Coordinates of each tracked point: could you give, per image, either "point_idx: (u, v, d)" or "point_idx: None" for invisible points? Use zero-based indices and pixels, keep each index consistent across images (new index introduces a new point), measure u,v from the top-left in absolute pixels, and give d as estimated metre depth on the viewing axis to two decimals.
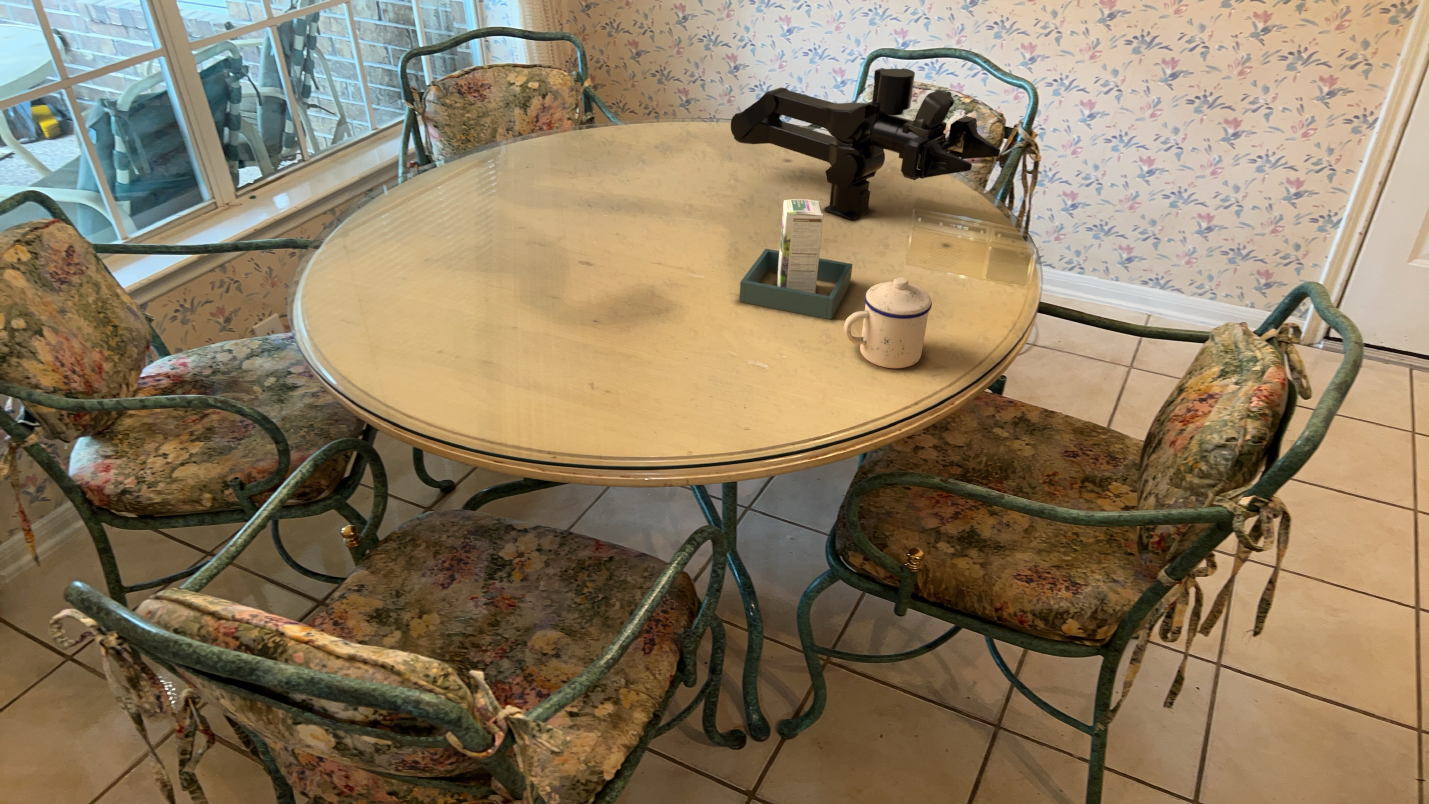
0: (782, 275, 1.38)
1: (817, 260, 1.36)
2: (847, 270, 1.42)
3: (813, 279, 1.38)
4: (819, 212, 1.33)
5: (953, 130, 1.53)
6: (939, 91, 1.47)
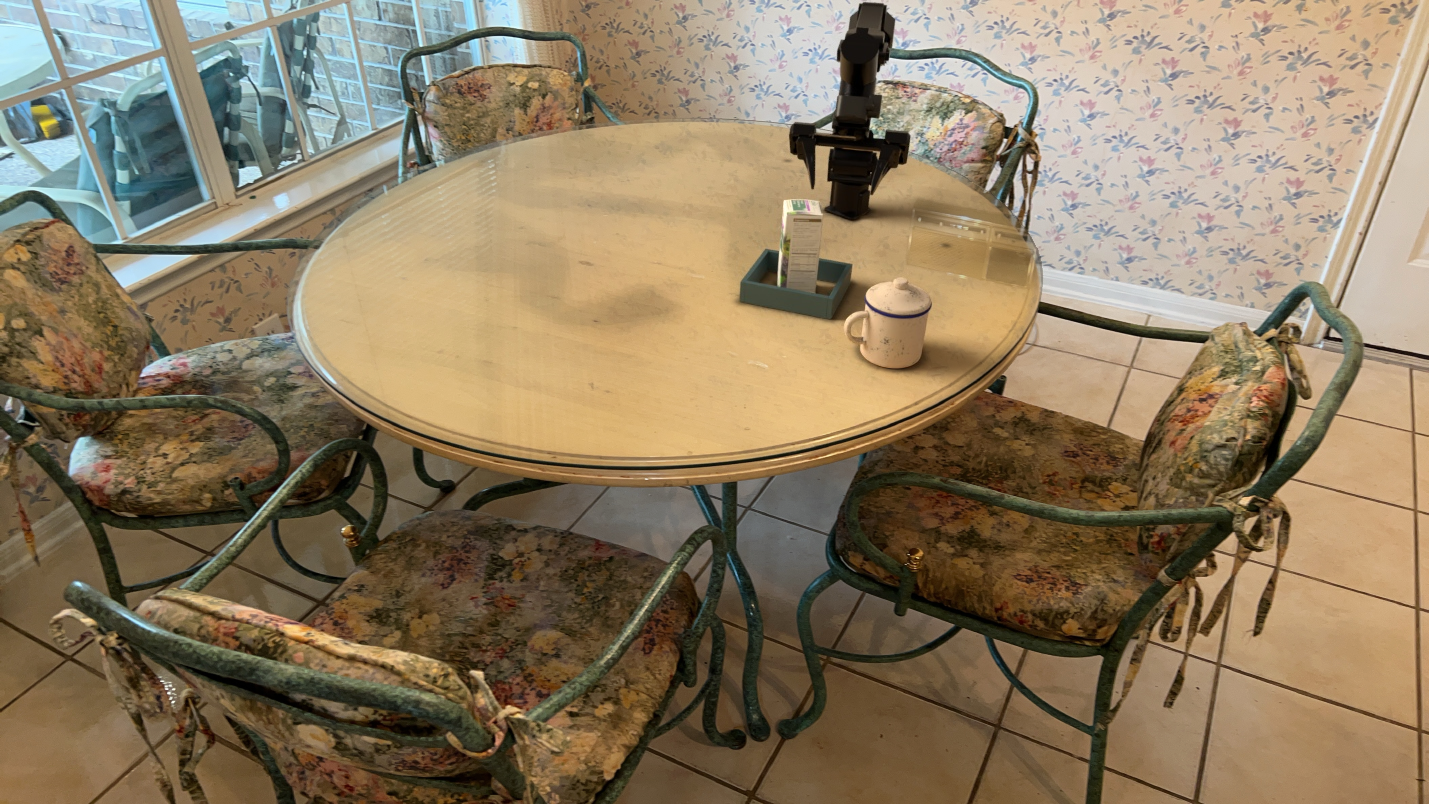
0: (782, 275, 1.38)
1: (817, 260, 1.36)
2: (847, 270, 1.42)
3: (813, 279, 1.38)
4: (819, 212, 1.33)
5: None
6: (860, 99, 1.35)
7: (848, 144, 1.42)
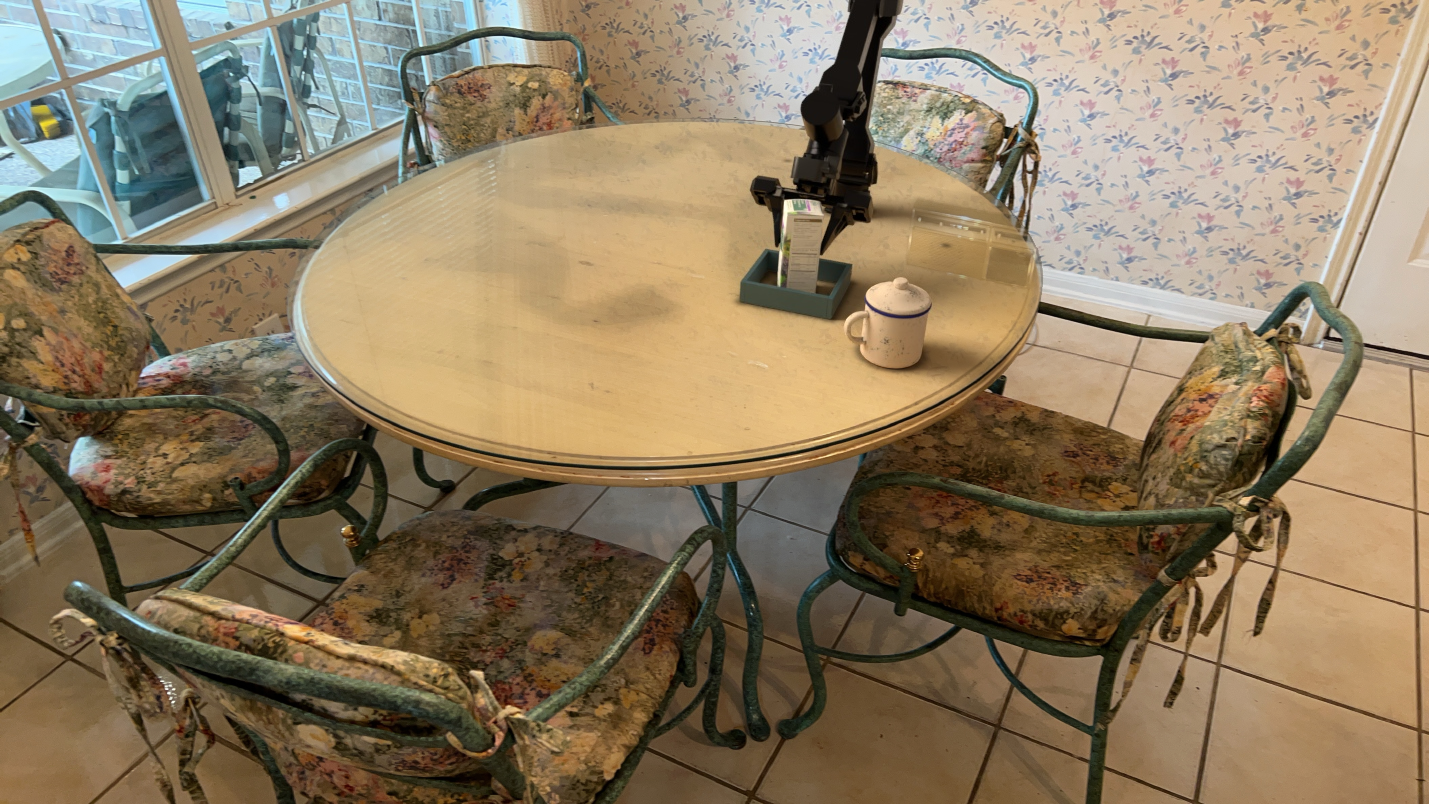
0: (782, 275, 1.38)
1: (817, 260, 1.36)
2: (847, 270, 1.42)
3: (813, 279, 1.38)
4: (820, 212, 1.33)
5: None
6: (815, 161, 1.31)
7: None
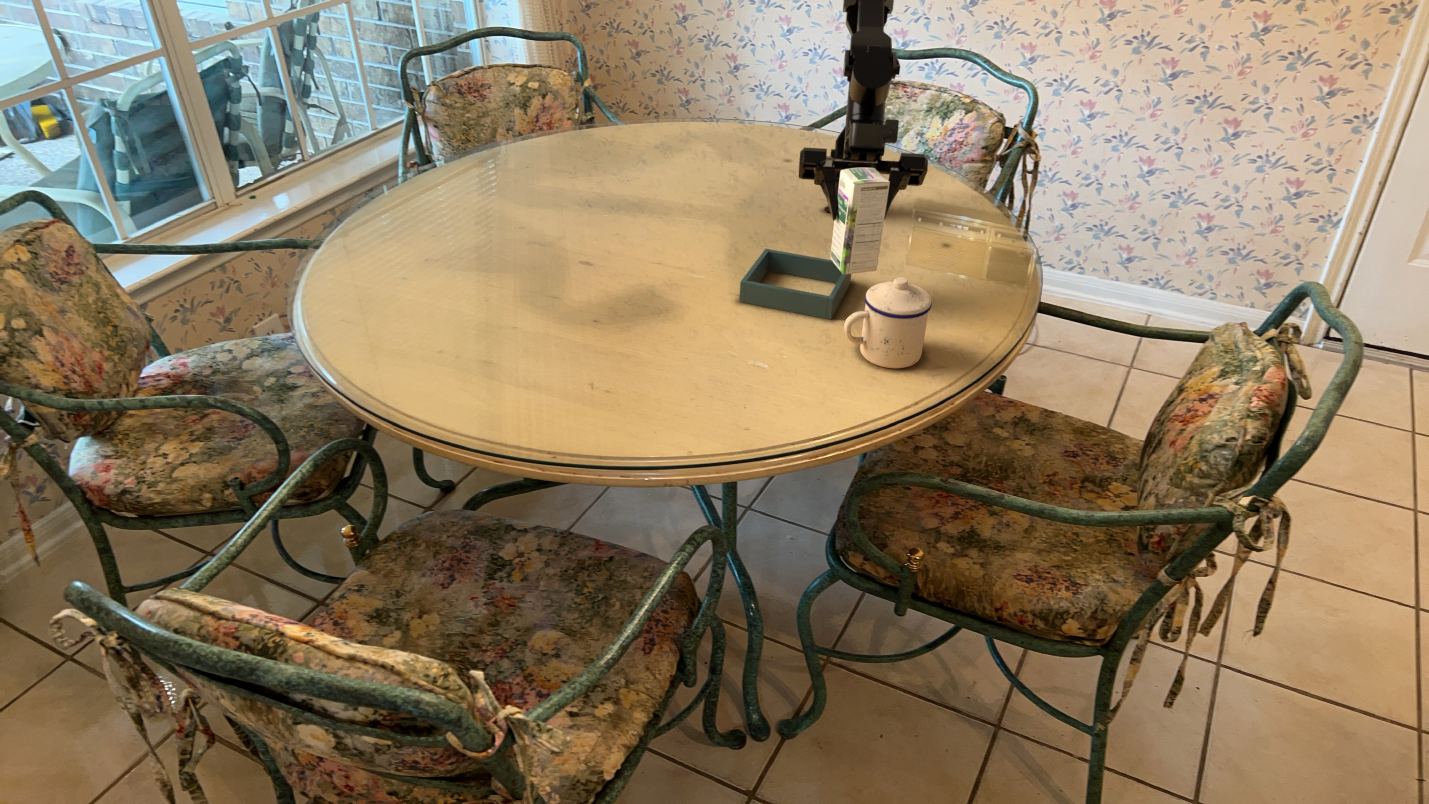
0: (847, 248, 1.33)
1: (881, 229, 1.32)
2: None
3: (877, 249, 1.34)
4: (884, 179, 1.29)
5: (900, 160, 1.33)
6: (876, 127, 1.27)
7: None
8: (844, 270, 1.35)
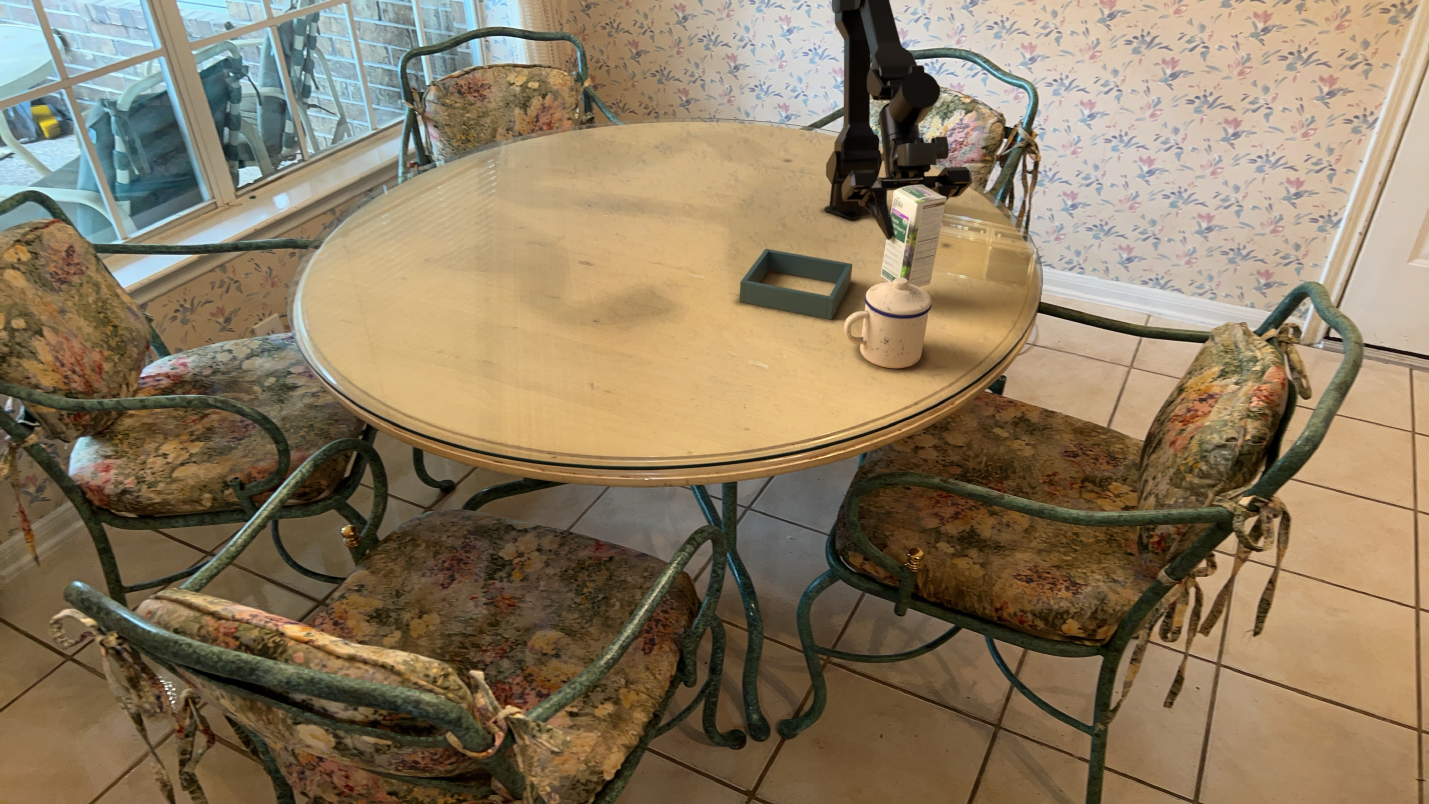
0: (907, 266, 1.34)
1: (937, 243, 1.35)
2: (847, 270, 1.42)
3: (932, 263, 1.36)
4: (939, 195, 1.31)
5: (943, 174, 1.36)
6: (930, 145, 1.28)
7: (900, 186, 1.36)
8: None
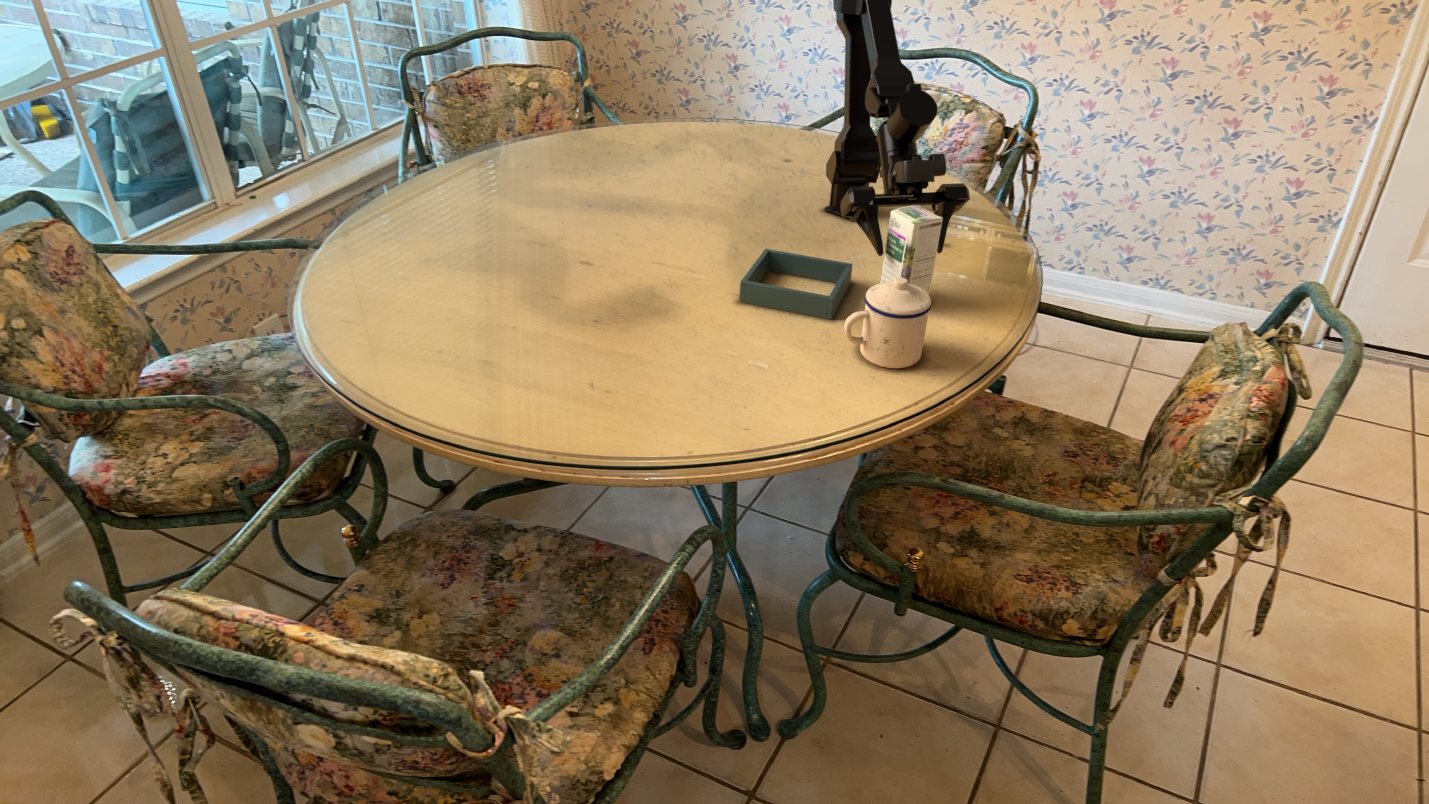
0: None
1: (934, 263, 1.36)
2: (847, 270, 1.42)
3: (929, 282, 1.38)
4: (936, 215, 1.33)
5: (940, 190, 1.37)
6: (927, 162, 1.30)
7: (905, 202, 1.37)
8: None
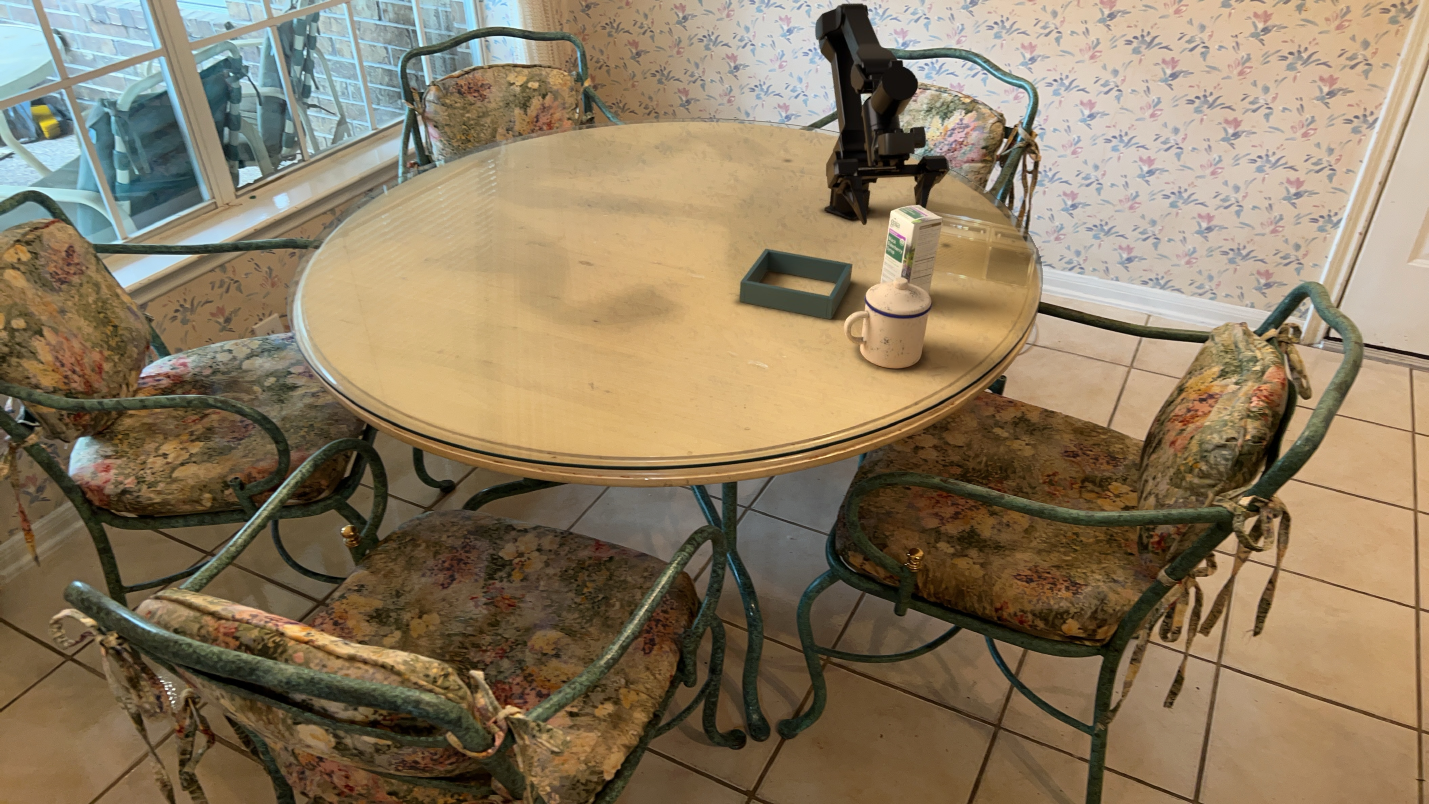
0: None
1: (934, 263, 1.36)
2: (847, 270, 1.42)
3: (929, 282, 1.38)
4: (936, 215, 1.33)
5: (922, 162, 1.44)
6: (908, 135, 1.37)
7: (888, 174, 1.44)
8: None
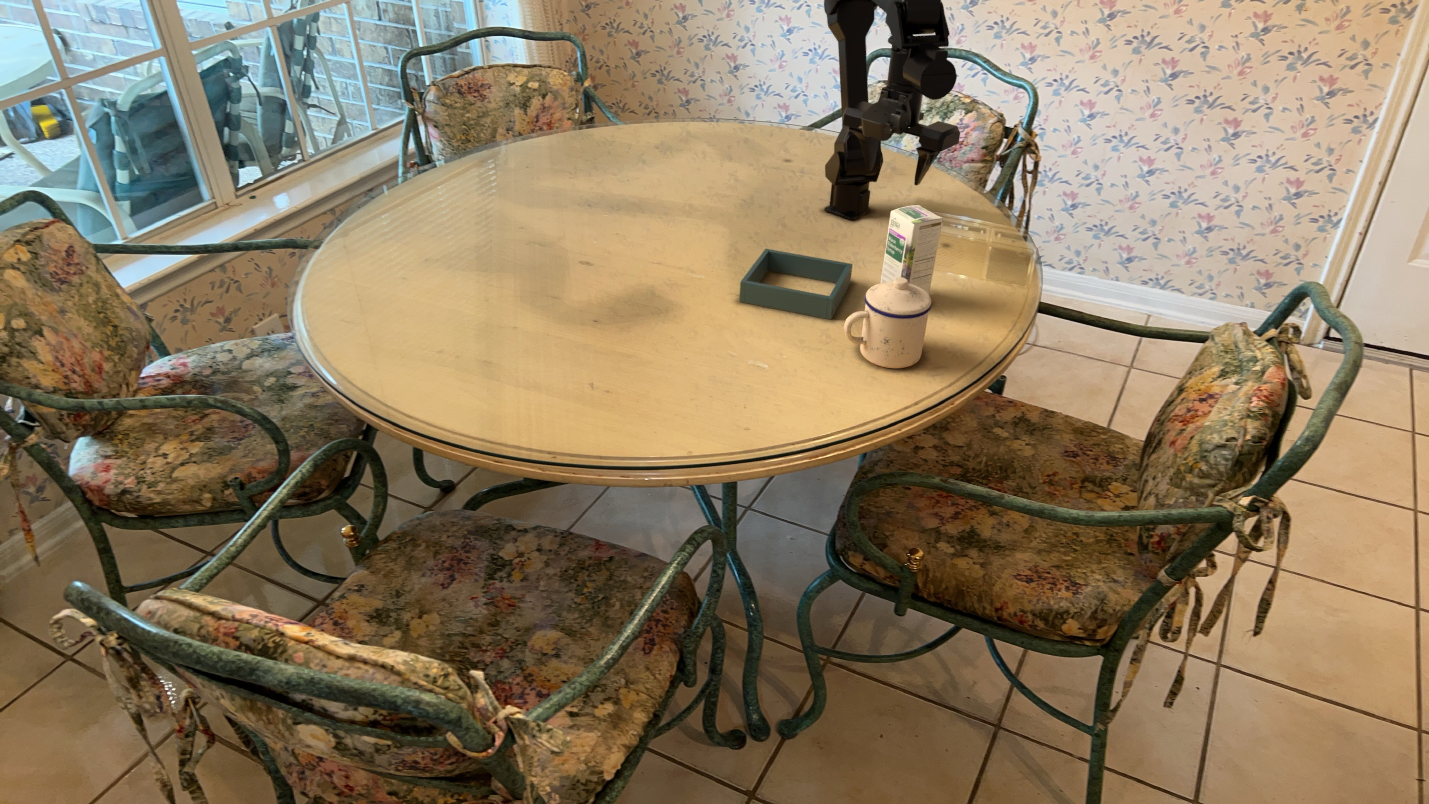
0: None
1: (934, 263, 1.36)
2: (847, 270, 1.42)
3: (929, 282, 1.38)
4: (936, 215, 1.33)
5: None
6: (877, 125, 1.37)
7: None
8: None
